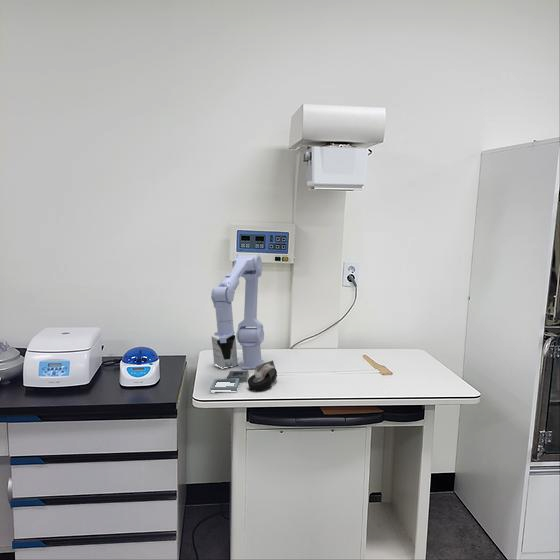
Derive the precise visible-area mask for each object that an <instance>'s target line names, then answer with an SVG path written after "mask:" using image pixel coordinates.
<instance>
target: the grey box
mask: <svg viewBox="0 0 560 560" xmlns="http://www.w3.org/2000/svg"><path fill="white" fill-rule="evenodd" d="M217 340H220V339H219V337H218V336H217V335H211V344H212V345H211V346H212V355H213V364H214V363H215V364H217V365H218V366H220V367H222V368H224V367H226V366H225V360H224V358H223V354H222V351H221V349H220V347H219V345H218V344H217ZM236 340H237V338H236V337H235V339H234V342H233V349H232V366H235V367H237V366H236V365H238V366H239V362H238V352H237V349H238V348H237V342H236ZM230 367H231V366H230ZM231 368H232V367H231Z"/></svg>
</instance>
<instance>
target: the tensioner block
mask: <svg viewBox="0 0 560 560" xmlns="http://www.w3.org/2000/svg"><path fill="white" fill-rule="evenodd" d="M249 376H250V375H249V369H244V370H230V371H229V372H228V374H227V377H226V379H231V378H239V379H240V381H241V382H240V383H248V379H249Z"/></svg>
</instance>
